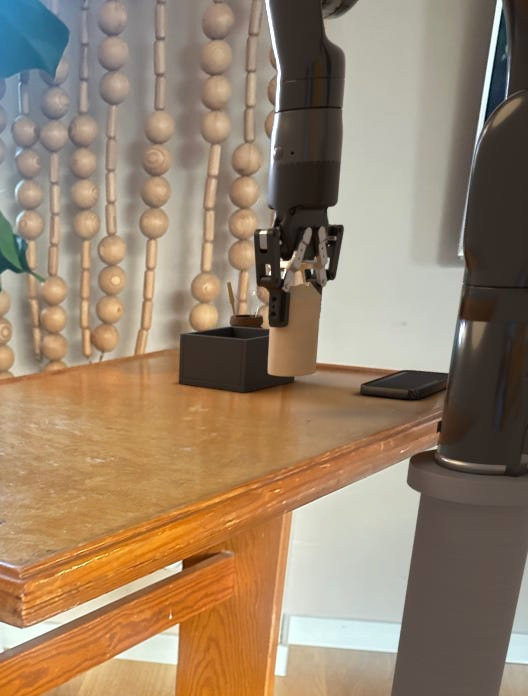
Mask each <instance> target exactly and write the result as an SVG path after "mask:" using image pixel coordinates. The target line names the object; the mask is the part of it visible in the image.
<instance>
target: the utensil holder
mask: <svg viewBox="0 0 528 696" xmlns="http://www.w3.org/2000/svg"><path fill="white" fill-rule="evenodd" d="M226 286H227V287H226V288H227V292H228V293H227V294H228V299H229V304H230V305H231V310H232V315H231V316H230V318H229V326H239V327H251V328H263V326H262V325H263V324H264V316H263V315H262V313H263V311H264V309H265V307H266V302H267V301H264V299H265V300H267V298H268V296H267V292H266V291H265V289H262V288H258V289H257V290H256V292H253V293H252V296H251V299H250V303H249V305H252V303H257V302H258V301H257V300H254V301H253V298H254V296H255V295H257V297H256V296H255V298H254V299H258V298H259V294H260V292H265V298H264V299H260V300H259V302H263V301H264V303H259V304H258V308H257V309H259V310H256V308H255V307H256V306H257V304H253V305H252V306H249V314H237V313H236V308H235V296H234V292H233V287H232V282H231V281H227V282H226ZM260 298H263V294H261V295H260ZM255 301H256V302H255ZM260 304H261V305H260ZM262 305H263V307H260V306H262ZM251 307H252V308H253V312H255V311H256V314H253V313H252V310H251V309H252V308H251ZM261 308H262V309H261Z"/></svg>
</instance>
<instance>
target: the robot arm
mask: <svg viewBox="0 0 528 696" xmlns="http://www.w3.org/2000/svg"><path fill="white" fill-rule="evenodd" d="M359 1H360V0H264V5H265V12H266V13H265V14H266V19H267V24H268V31H269V36H270V43H271V49H272V50H271V51H272V54H273V58H274V63H275V69H276V73H275V74H276V75H275V91H274V107H273V108H274V109H273V110H274V111H273V113H274V114H273V121H272V126H271V132H270V141H269V158H268V159H269V160H268V164H269V165H268V177H267V178H268V180H267V199H266V205H267V208H268V209H269V210H272V211H273V210H274V218H273V222H272V224H271V226H270V227H268V228H256V229H255V230H254V232H253V247H254V249H253V250H254V263H255V264H254V265H255V279H256V280H255V283H256V286H257V287H259V288H260V287H262V288H264V289H266V291H267V292H268V308H267V309H268V311H267V319H268V326H269V328H270V327H276V328H283V327H286V326H287V325H288V321H289V305H290V292H288V291H289V290H290V287H291V285H292V284H293V279H294V276H295V274H296V273H297V272H298V271H300V274H301V279H302V283H307V282H311V284H312V285H313V286H314V288H315V289H316V290H317V291H318V292H319V294H320V295H321V302H322V299H323V290H324V289H323V288H326V286H327V284H328V282H329V281H334V280H336V277H337V272H338V267H339V262H340V261H339V260H340V255H341V250H342V245H343V237H344V233H345V226H344V224H331V223H330V222H329V215H328V209H329V208H332V207H335V206H337V204H338V201H339V191H340V179H341V177H340V176H341V165H342V154H343V153H342V152H343V141H344V123H343V122H344V121H343V108H344V96H345V86H346V85H345V84H346V83H345V82H346V63H347V62H346V54H345V52H344V50H343V49H342V48H341V47H340V46H339V45H337V44H335V43H334V42H333V41H331V40H330V39H329V37H328V36H327V32H326V28H325V21H332V20H336V19H339V18H342V17H343V16H345V15H346V14H347V13H348V12H349V11H350V10H352V9H353V8H354V7H355V6H356V4H357V3H359ZM501 4H502V10H503V15H504V21H505V28H506V29H505V30H506V43H507V45H506V46H507V52H506V53H507V54H506V55H507V57H506V58H507V59H506V60H507V61H506V76H505V77H506V78H505V86H504V87H505V89H504V99H503V101H502V102H500V104H498V105H497V106H496V108H495V109H494V110H493V111H492V112H491V113H490V115H489V117H488V118H487V120H486V121H485V123H484V124H483V127H482V128H481V131H480V133H479V135H478V139H477V142H476V145H475V149H474V154H473V159H472V164H471V171H470V179H469V185H468V194H467V200H466V203H467V204H466V210H465V216H464V217H465V218H464V226H463V235H462V254H463V264H464V265H463V266H464V268H463V275H462V282H461V283H462V285H461V288H460V289H461V290H460V297H459V302H458V310H457V317H456V323H455V328H454V330H455V331H454V336H453V341H452V348H451V354H450V355H451V356H450V360H449V361H450V362H449V368H448V373H449V374H448V380H447V387H446V388H445V393H444V394H445V395H444V401H443V408H442V413H441V420H439V421H437V425H436V426H437V427H436V434H438V439H437V443H436V444H437V446H436V448H435V449H436V453H435V460H434V461H435V463H436V464H438V465H439V466H441V467H443V468H446V469H449V470H453V471H457V472H463V473H469V474H477V475H494V476H509V477H519V476H521V475H524V474H526V473H528V0H501ZM324 20H325V21H324ZM327 264H328V265H327ZM266 265H267V266H268V268H269V273H268V274H267V266H266ZM326 265H327V266H328V267H327V268H326ZM282 273H283V276H282ZM321 311H322V304H321V305H320V313H321Z"/></svg>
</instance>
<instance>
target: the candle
mask: <svg viewBox="0 0 528 696" xmlns="http://www.w3.org/2000/svg"><path fill="white" fill-rule="evenodd" d="M288 292H290V305H289V321H288V325H287V326H286V327H283V328H276V327H270V326H269V329H270V333H269V353H268V374H270V375H275V376H295V377H303V376H305V377H307V376H311V375H314V374H316V370H317V359H318V346H319V345H318V344H319V331H320V318H321V312H320V305H321V306H322V301H321V295H320V294H319V292H318V291H317V290H316V289H315V288H314V286H313V285H312V284H311V282H307V283H303V282H302V283H299V284H297V285H292V284H291V287H290V290H289V291H288Z"/></svg>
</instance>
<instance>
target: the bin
mask: <svg viewBox="0 0 528 696" xmlns="http://www.w3.org/2000/svg"><path fill="white" fill-rule="evenodd" d="M269 333H270V328H263V327H262V328H251V327H239V326H231V325H229V326H222V327H216V328H211V329H209V328H208V329H203V330H197V331H190V332H184V333H180V334H179V355H178V357H179V359H178V360H179V361H178V384H180V385H185V386H186V385H187V386H193V387H194V386H195V387H201V388H209V389H214V390H222V391H223V390H224V391H228V392H229V391H230V392H237V393H243V394H245V393H248V392H253V391H258V390H261V389H266V388H271V387H275V386H279V385H280V386H281V385H283V384H287V383H292V382H293V383H294V382H295V377H296V376H275V375H270V374H268V353H269Z"/></svg>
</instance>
